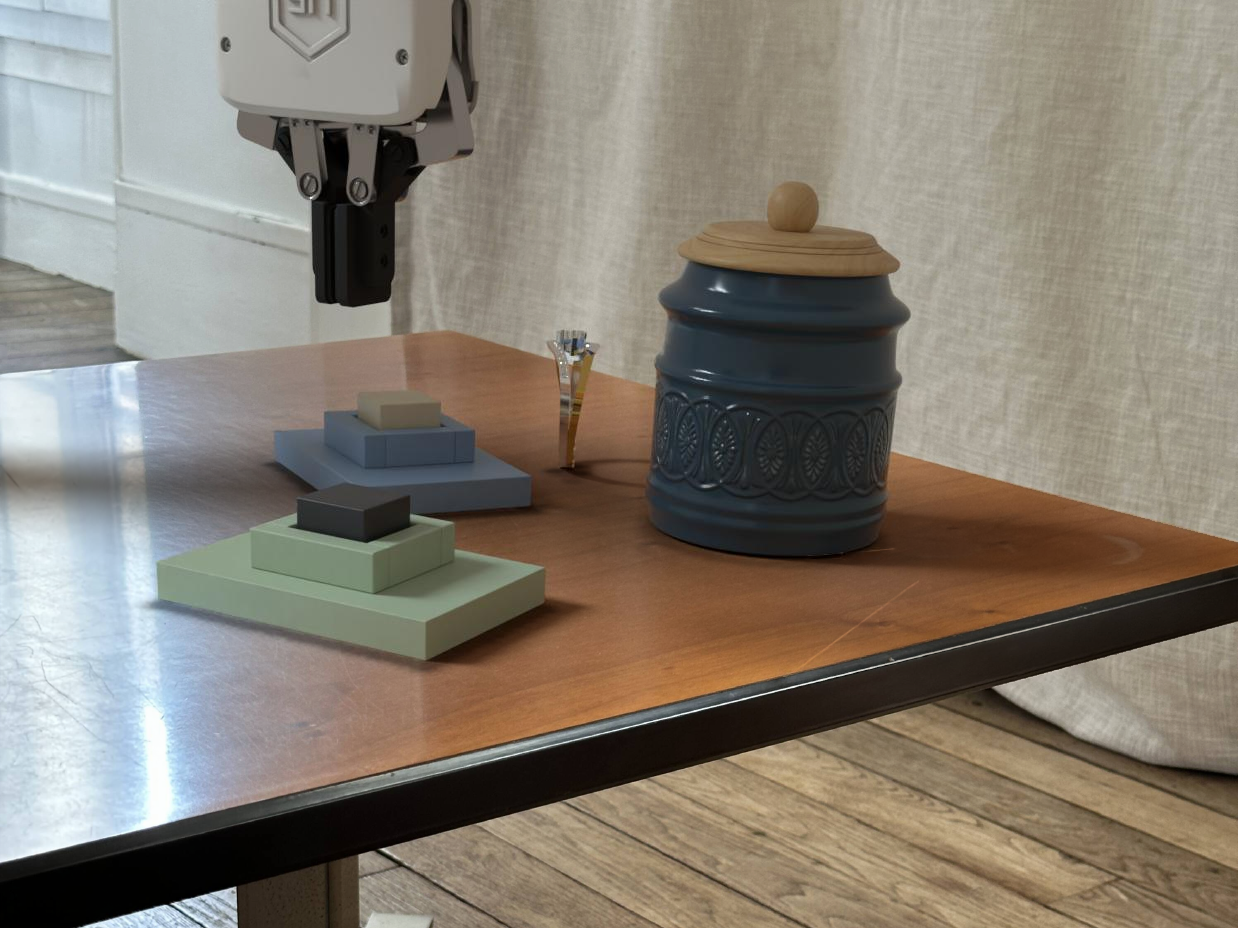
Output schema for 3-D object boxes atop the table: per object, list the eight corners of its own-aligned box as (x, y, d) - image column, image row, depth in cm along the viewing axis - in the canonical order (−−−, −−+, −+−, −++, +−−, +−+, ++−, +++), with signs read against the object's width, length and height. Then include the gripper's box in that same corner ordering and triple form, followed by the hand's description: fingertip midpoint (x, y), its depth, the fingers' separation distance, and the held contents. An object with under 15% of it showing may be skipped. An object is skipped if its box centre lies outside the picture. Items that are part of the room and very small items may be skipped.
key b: (356, 423, 99) (356, 391, 98) (416, 420, 100) (416, 389, 100) (380, 436, 96) (380, 404, 95) (441, 433, 98) (441, 401, 97)
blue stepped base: (274, 459, 103) (272, 399, 101) (432, 450, 107) (433, 392, 106) (358, 519, 92) (357, 452, 90) (531, 506, 96) (533, 442, 95)
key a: (296, 535, 77) (295, 496, 76) (344, 519, 80) (344, 481, 79) (364, 550, 75) (364, 510, 75) (410, 532, 78) (411, 494, 78)
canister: (899, 568, 89) (946, 200, 82) (644, 553, 89) (668, 183, 81) (867, 505, 101) (906, 179, 94) (642, 491, 101) (663, 164, 93)
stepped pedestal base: (157, 598, 78) (153, 521, 76) (294, 550, 86) (293, 479, 84) (425, 661, 72) (426, 578, 71) (544, 603, 80) (547, 528, 79)
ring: (545, 453, 108) (551, 320, 105) (597, 456, 108) (604, 323, 105) (534, 479, 102) (540, 338, 99) (589, 482, 102) (597, 342, 99)
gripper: (127, -217, 66) (153, 290, 73) (468, -218, 60) (459, 334, 67) (252, -191, 72) (264, 275, 80) (573, -189, 66) (553, 313, 74)
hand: (353, 300), depth 73 cm, fingers closed
